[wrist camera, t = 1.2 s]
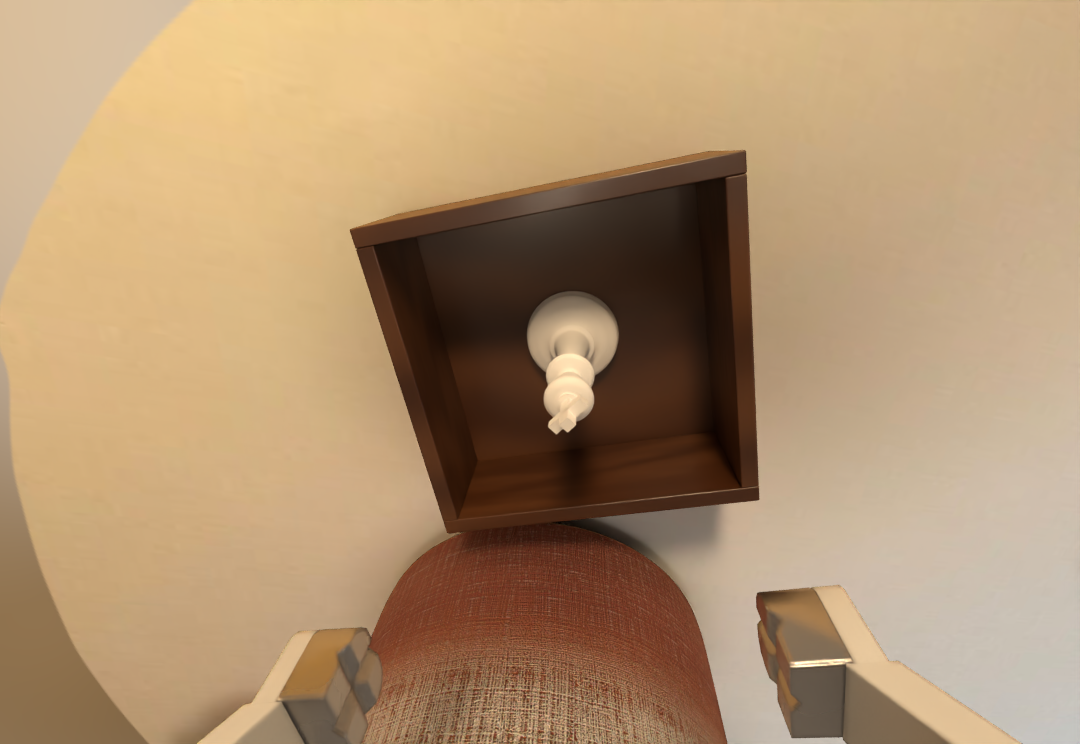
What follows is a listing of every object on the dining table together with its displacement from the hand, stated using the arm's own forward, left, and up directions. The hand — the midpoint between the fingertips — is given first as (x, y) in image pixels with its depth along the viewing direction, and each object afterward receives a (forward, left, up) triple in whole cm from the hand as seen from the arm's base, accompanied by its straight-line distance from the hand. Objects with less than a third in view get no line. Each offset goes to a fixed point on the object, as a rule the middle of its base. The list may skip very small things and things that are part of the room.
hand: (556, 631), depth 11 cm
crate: (0, 0, -19) cm, 19 cm away
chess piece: (0, 0, -19) cm, 19 cm away
